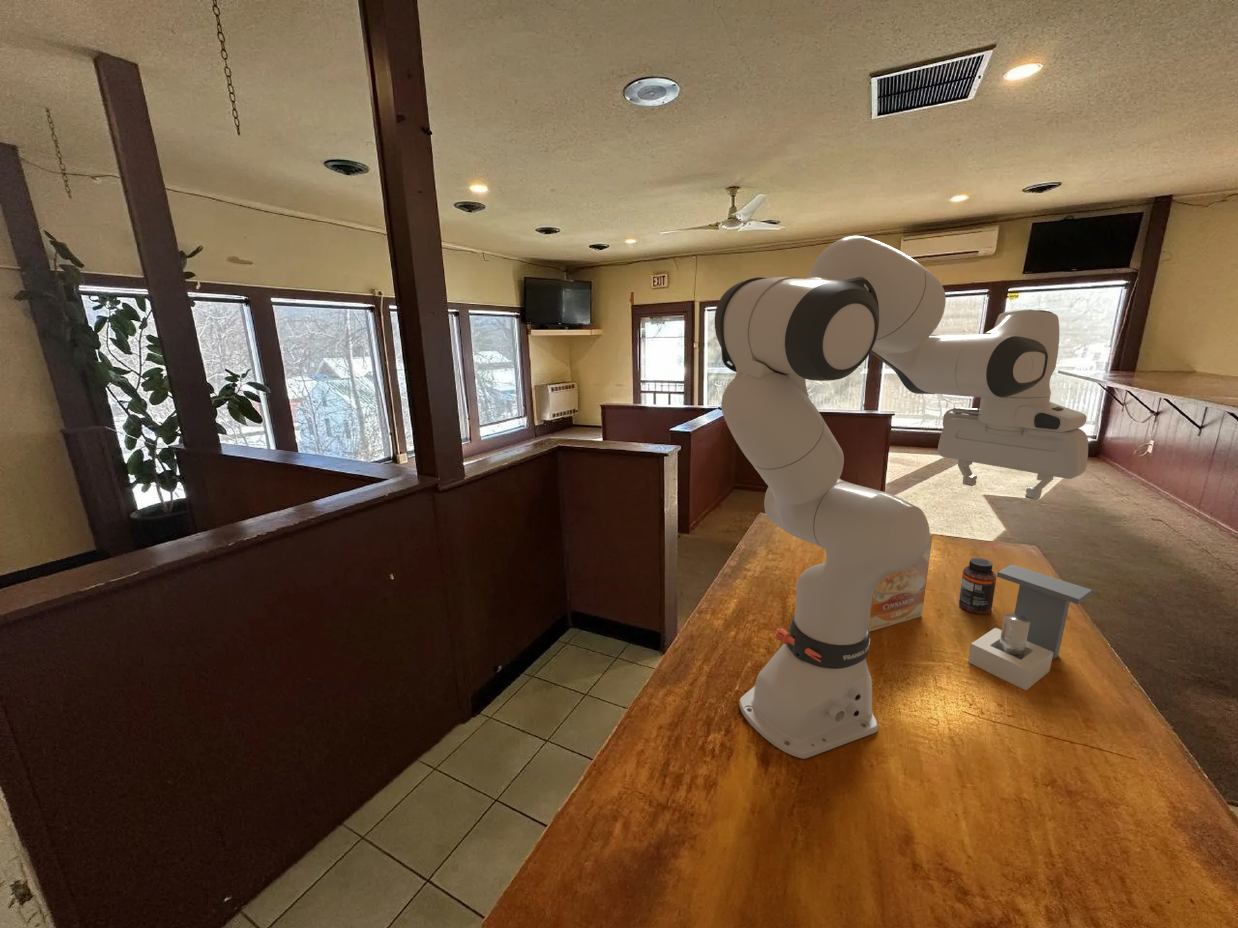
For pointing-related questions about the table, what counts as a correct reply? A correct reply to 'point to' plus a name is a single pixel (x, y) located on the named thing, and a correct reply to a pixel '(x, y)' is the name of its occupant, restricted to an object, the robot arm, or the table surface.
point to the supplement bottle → (977, 586)
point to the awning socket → (1030, 627)
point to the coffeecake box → (900, 594)
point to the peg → (1014, 634)
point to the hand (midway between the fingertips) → (999, 491)
